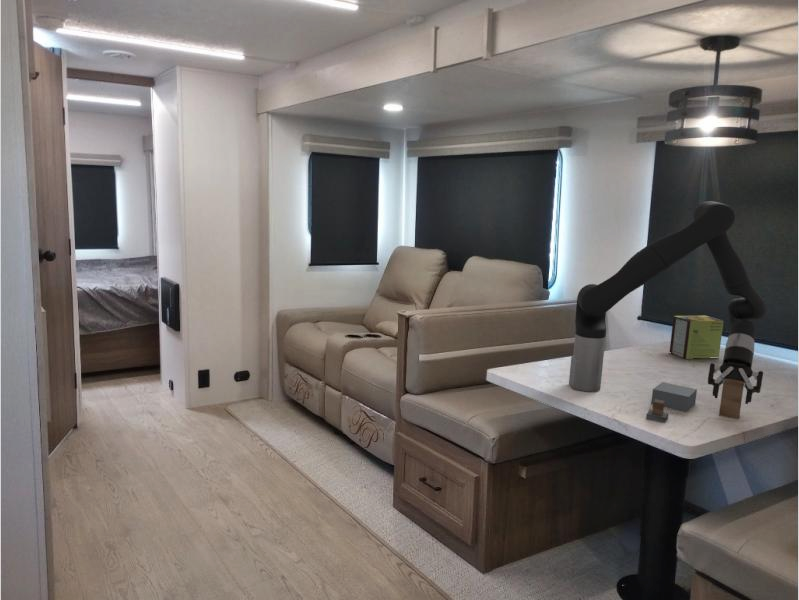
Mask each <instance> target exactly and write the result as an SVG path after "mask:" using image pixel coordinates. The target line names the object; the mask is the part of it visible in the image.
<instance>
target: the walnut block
mask: <svg viewBox="0 0 799 600" xmlns="http://www.w3.org/2000/svg"><path fill="white" fill-rule="evenodd" d="M744 388H745V387H744V381H739V380H733V379H727V378H725V379H724V382H723V384H722V390H721V397H720V404H719V413H718V416H719V417H724V418H729V419H735V420H739V419H740V413H741V407H742V400H743V394H744Z"/></svg>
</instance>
